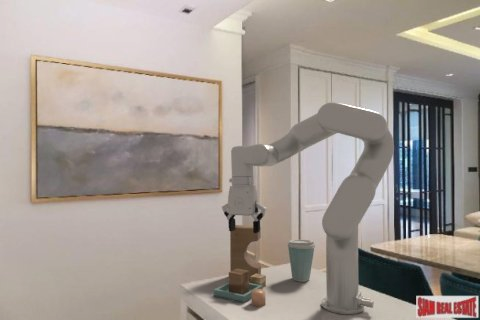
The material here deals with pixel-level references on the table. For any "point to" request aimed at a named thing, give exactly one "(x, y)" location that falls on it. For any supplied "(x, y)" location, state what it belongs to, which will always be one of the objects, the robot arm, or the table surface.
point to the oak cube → (258, 279)
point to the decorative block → (243, 249)
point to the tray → (224, 293)
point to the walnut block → (239, 281)
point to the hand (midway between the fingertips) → (244, 231)
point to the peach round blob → (258, 297)
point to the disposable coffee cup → (301, 258)
